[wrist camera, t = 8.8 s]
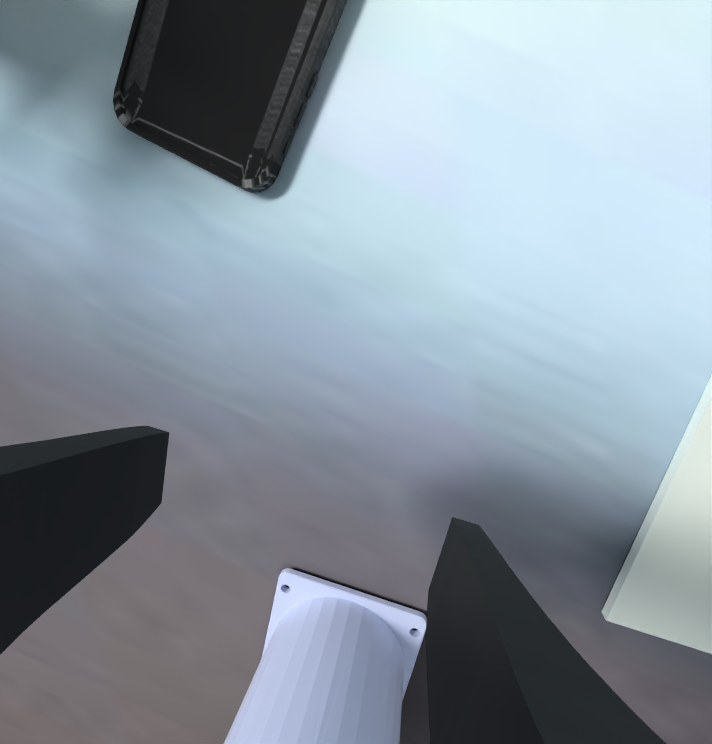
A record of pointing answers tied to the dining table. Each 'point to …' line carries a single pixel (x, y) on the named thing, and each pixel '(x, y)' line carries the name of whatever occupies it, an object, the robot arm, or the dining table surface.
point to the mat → (674, 548)
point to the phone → (224, 80)
